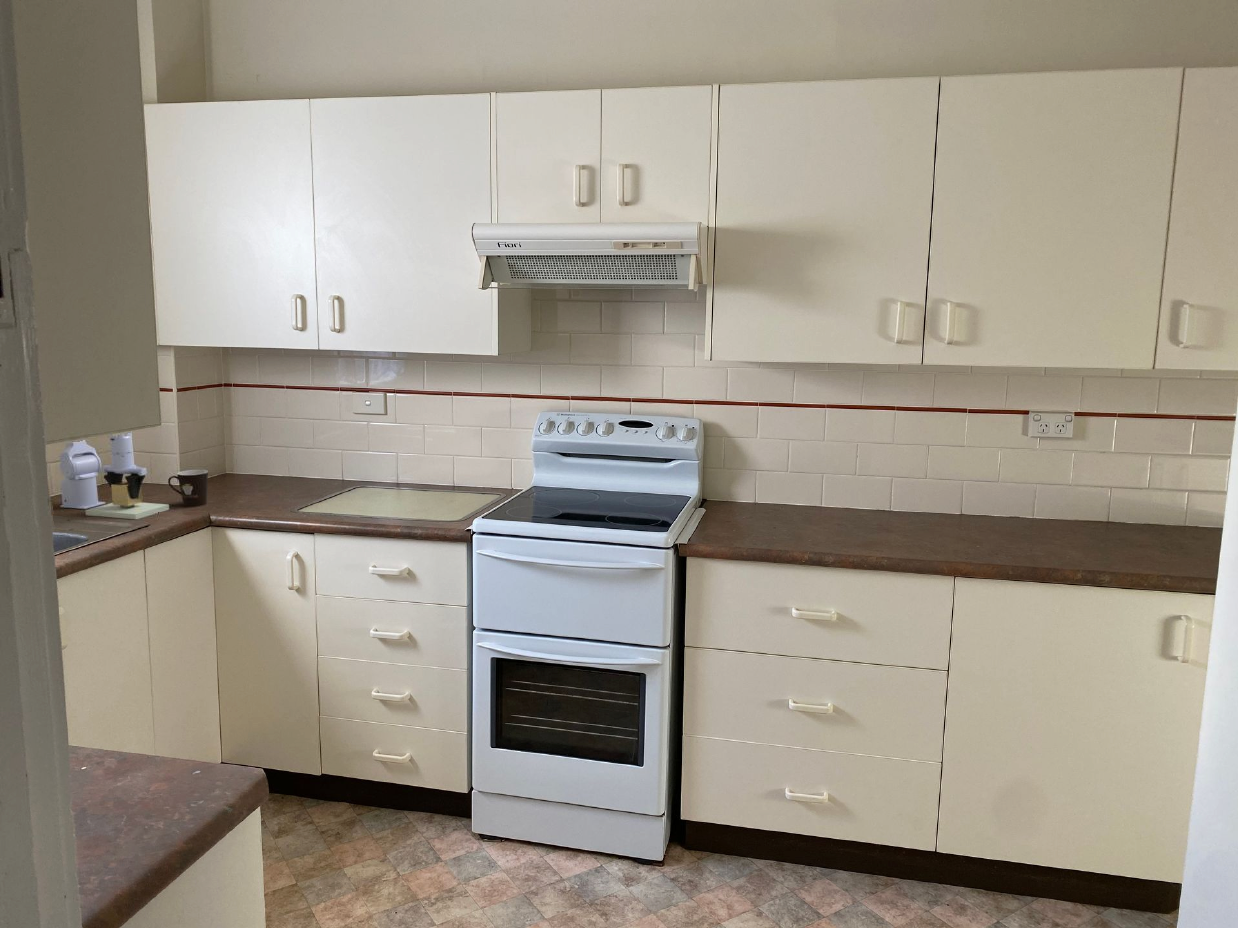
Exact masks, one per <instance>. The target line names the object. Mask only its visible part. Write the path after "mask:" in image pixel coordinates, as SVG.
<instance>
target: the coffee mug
mask: <svg viewBox="0 0 1238 928" xmlns="http://www.w3.org/2000/svg"><path fill="white" fill-rule="evenodd" d="M208 474H209V471H208V470H205V469H191V470H190V469H189V470H183V471H179V472H177V473H176V475H172V476H170V477H169V478H168V480H167V483H168V486H169V487H170V488H171V489H172V490H173V491H175V492H176V493H177V494H179V495H181V499H182V502H183V503H182V504H183V506H184V507H187V508H189V507H191V508H192V507H194V508H195V507H201V506H205V505H207V497H208ZM174 478H175V479H177V480H178V484H179V489H180V490H178V488H175V487H174V485H172V484H171V480H172V479H174Z"/></svg>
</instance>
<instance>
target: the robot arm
mask: <svg viewBox="0 0 1238 928" xmlns="http://www.w3.org/2000/svg"><path fill="white" fill-rule="evenodd" d="M132 435H133V434H132V432H131V433H128V434H120V435H115V436H108V435H107V437H108V438H109V442H110V453H111V464H112V465H109V464H108V465H102V461H101V458H100V457H99V455H98V454H97V452H96V451H97V450H96V448H94V447H93V446H91V445H89V444H87V442H86V439H85V440H83V441H80V442H73V443H65V446H66V448H64V450H62V451H61V453H60V454H59V456H58V457H59V459H60V460H59V462H60V463H59V466H60V468H59V469H60V472H61V474H62V475H63V476H64V477H65V478H63V480H61V483H60V493H61V501H62V504H61V505H60V508H68V509H79V510H80V509H81V510H88V509H92V508H95V507H99V506H103V505H106V502H105V501H99V496H98V494H99V493H98V485H97V477H98V476H99V474H98V473H100V471H101V473H102V474H104V475H103V479H104V480H105V481H106V482H107V485H108V486H109V487H110V489H111V490H112V488H111V485H112V484H117V483H121V482H123V477H124V479H125V481H127V483H128V485H129V490H130V495H131V499H136V498H138V497H139V491H140V487H141V484H142V483H143V481H144V480H145V478H146V475H147V474H148V471H147V467H141V466H137V464H135V458H134V456H135V455H134V445H133V436H132ZM124 475H126V476H124Z"/></svg>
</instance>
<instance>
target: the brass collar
mask: <svg viewBox="0 0 1238 928" xmlns="http://www.w3.org/2000/svg"><path fill="white" fill-rule="evenodd" d="M142 487H143V486H142V484H141V487H140V491H139V497H138V498H136V499H131V495H130V490H129V485H128V483H127V480H125V481H122V482H121V483H117V484H112V485H111V487H110V489H111V488H112V489H111V499H112V503H113V505H123V506H130V505H134V504H138V503H144V500H143V499H144V498H143V488H142Z"/></svg>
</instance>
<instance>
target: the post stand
mask: <svg viewBox="0 0 1238 928" xmlns="http://www.w3.org/2000/svg"><path fill="white" fill-rule="evenodd" d="M84 510H85V515H86V516H92V517H104V518H105V517H106V518H117V519H127V520H128V519H129V520H138V519H141V518H146V517H149V516H152V515H156V514H159V513H162V512H166V511H169V510H170V505H169V504H164V503H154V502H153V503H151V502H142V503H138V504H134V505H130V506H123V505H113V502H111V503H107V504H102V505H98V506H94V507H91V508H87V509H84ZM158 512H159V513H158Z"/></svg>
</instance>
